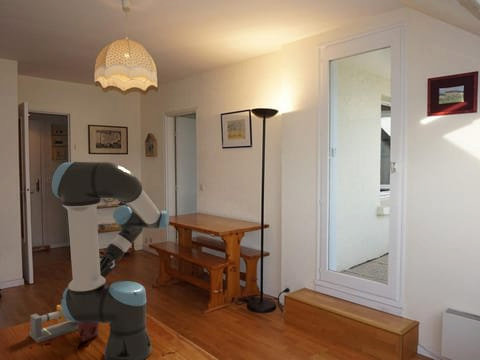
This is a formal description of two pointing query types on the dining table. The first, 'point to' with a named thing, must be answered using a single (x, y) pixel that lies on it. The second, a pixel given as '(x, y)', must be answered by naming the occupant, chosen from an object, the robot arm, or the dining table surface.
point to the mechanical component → (87, 330)
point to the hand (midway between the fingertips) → (79, 296)
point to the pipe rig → (50, 331)
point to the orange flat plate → (62, 318)
